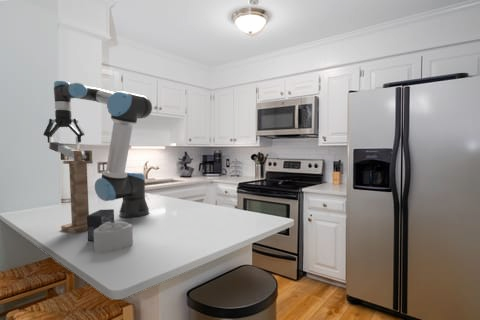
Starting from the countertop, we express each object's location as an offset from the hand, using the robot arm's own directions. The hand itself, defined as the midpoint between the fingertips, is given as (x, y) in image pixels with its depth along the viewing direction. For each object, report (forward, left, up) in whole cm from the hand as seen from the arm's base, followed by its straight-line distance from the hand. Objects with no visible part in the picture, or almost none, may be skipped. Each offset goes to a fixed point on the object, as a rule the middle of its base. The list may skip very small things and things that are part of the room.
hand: (64, 148), depth 154 cm
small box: (-34, +46, -37) cm, 68 cm away
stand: (-20, +32, -37) cm, 53 cm away
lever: (-14, +28, -3) cm, 31 cm away
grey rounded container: (-42, +58, -37) cm, 81 cm away
